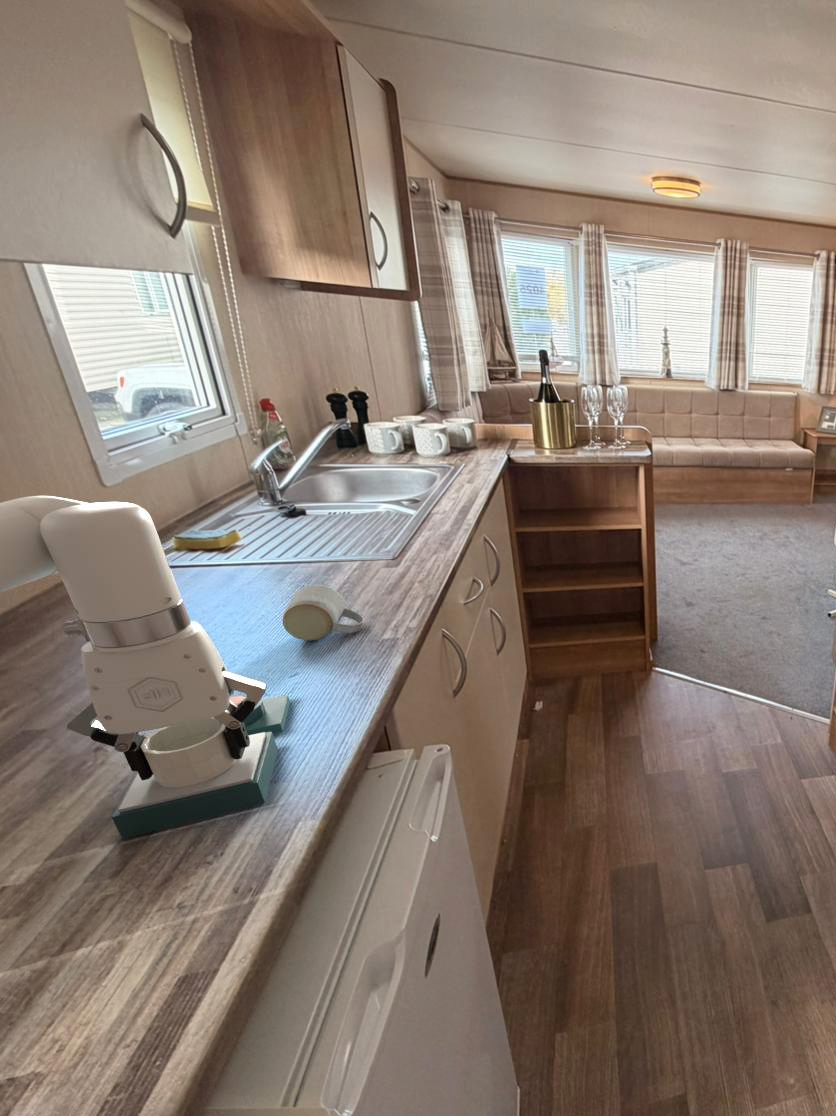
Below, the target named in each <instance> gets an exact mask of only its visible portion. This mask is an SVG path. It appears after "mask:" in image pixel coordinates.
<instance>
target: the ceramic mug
mask: <svg viewBox="0 0 836 1116" xmlns="http://www.w3.org/2000/svg"><path fill="white" fill-rule="evenodd" d="M343 617H344V618H348V619H351V620H353V621H355V622H356V623H357V624H342V623H339V622H340V621H341V619H342V618H343ZM364 623H365V618H364V616H362V615H361V614H360V613H358V612H357V611H354V610H352V609H349V608H346V602H345V599H344V597H343V596H342V595H341V593H339V592H338V591H337V590H335V589H334V588H332V587H330V586H327V585H324V584H323V585H321V584H309V585H305V586H303V587H301V588H299V589H298V590H297V591H296V592H295V593H294V594H293V596H292V598H291V599H290V601H289V603H288V605H287V606H286V608H285V610H284V612H283V615H282V625H283V628H284V630H285V631H286V632H287V633H288V634H289V635H290V636H292V637H294V638H296V639H298V640H302V641H307V642H308V641H318V640H320V639H324V638H325V637H327V636H328V635H329V634H331V633H332V632H333V631H334V632H338V633H344V634H347V633H348V634H352V633H356V632H357V633H358V632H359V631H361V630H362V629H363V626H364Z"/></svg>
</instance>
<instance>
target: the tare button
mask: <svg viewBox="0 0 836 1116" xmlns="http://www.w3.org/2000/svg"><path fill="white" fill-rule="evenodd" d="M244 696H245V695H244ZM244 696H243V695H234V696H233V695H232V696H229V698H230V700H231V701H232V702H233V703H235V704H236V705H239V704H240V703H241V702H242V701H243V700H244V698H245V697H244Z"/></svg>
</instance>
